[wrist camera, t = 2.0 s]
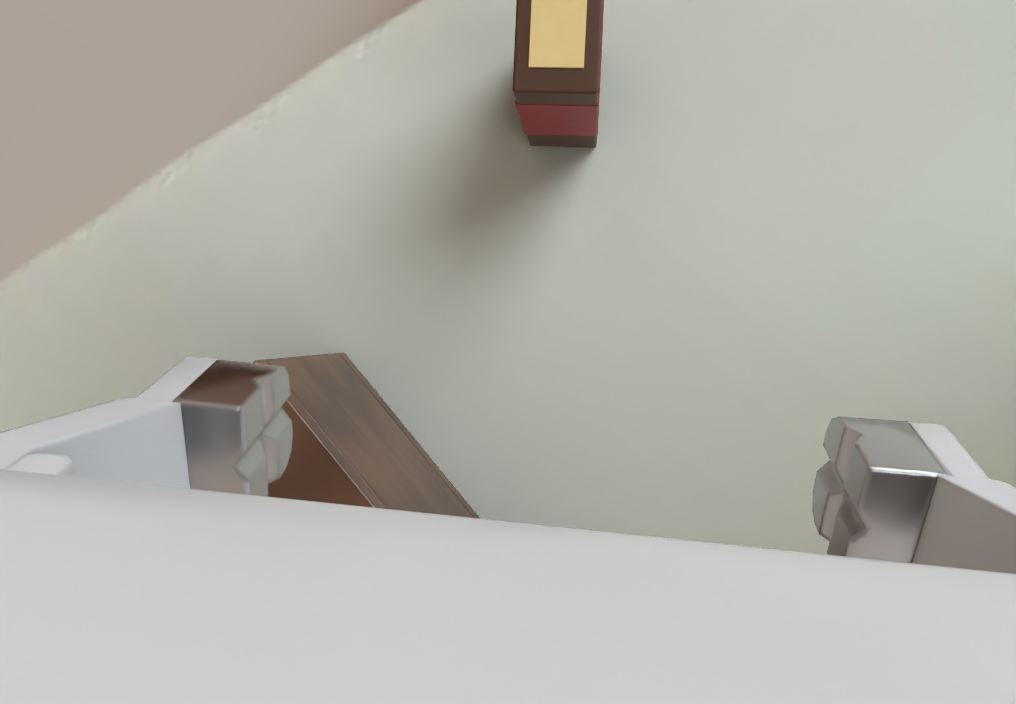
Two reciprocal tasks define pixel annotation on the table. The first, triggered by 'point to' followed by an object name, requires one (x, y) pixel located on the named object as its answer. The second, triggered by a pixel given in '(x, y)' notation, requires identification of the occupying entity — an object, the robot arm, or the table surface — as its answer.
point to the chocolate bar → (558, 70)
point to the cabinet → (355, 445)
